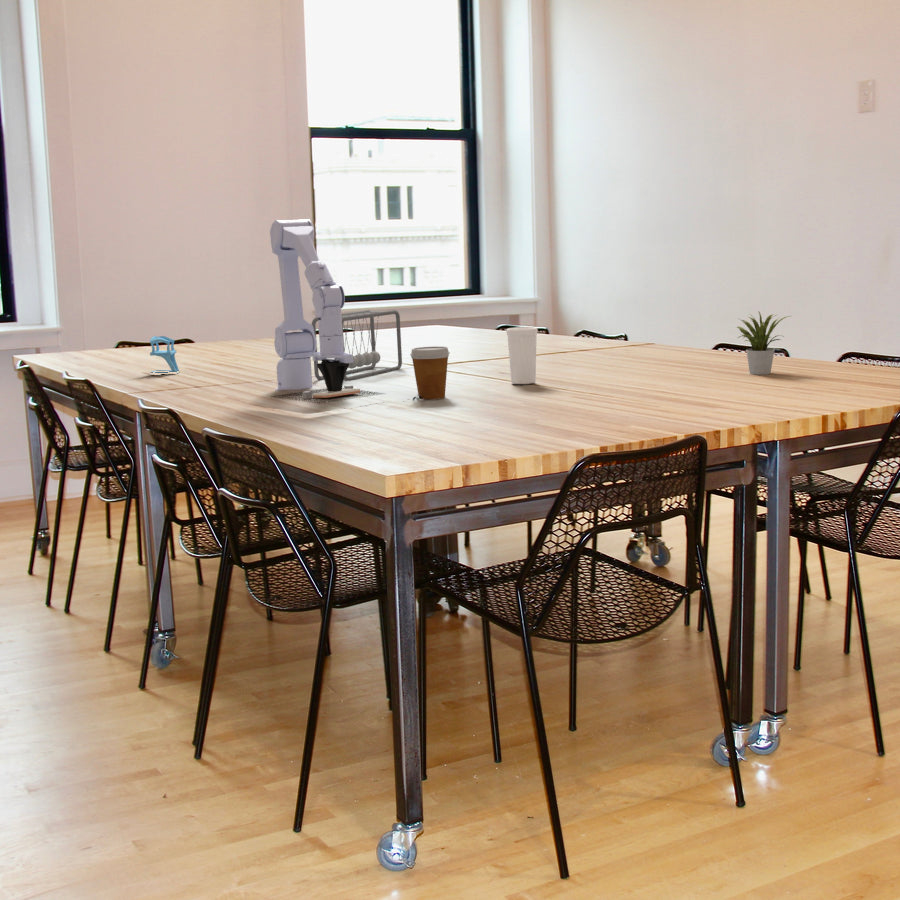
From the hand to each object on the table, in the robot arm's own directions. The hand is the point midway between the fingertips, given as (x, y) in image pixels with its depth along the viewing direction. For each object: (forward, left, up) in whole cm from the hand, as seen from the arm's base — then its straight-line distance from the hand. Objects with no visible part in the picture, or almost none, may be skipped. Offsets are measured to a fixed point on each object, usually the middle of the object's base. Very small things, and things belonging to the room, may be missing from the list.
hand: (334, 391), depth 270 cm
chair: (-96, +3, -2) cm, 96 cm away
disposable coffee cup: (+18, +16, -2) cm, 24 cm away
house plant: (+59, +94, -2) cm, 111 cm away
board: (-3, 0, -2) cm, 4 cm away
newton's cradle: (-38, +35, -3) cm, 52 cm away
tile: (-2, 0, -1) cm, 3 cm away
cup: (+19, +46, -2) cm, 50 cm away
